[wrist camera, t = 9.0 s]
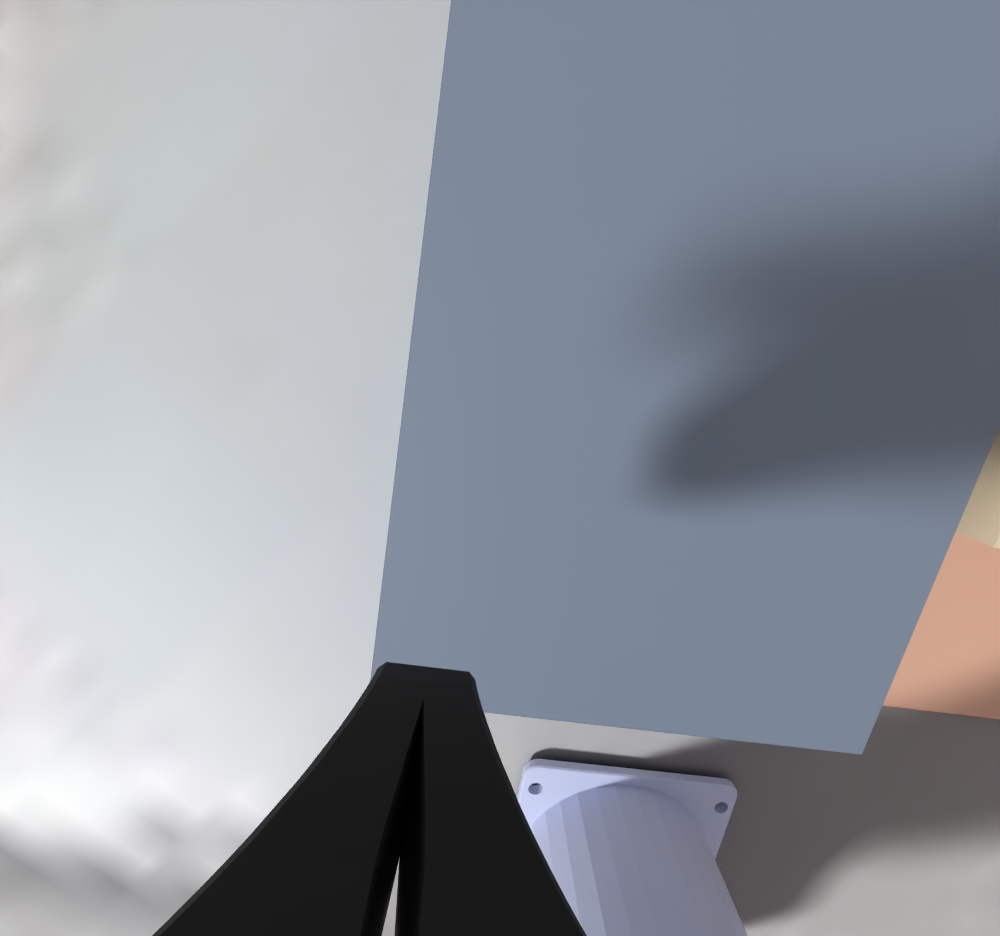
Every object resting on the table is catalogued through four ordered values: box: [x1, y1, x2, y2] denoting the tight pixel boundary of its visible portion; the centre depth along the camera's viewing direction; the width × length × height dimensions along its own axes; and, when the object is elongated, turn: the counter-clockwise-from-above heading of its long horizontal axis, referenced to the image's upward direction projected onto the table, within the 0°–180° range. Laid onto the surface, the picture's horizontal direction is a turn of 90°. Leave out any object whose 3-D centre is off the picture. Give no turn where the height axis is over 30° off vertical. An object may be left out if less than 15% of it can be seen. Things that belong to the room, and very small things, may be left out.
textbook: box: [370, 0, 1000, 755], centre depth 15 cm, size 20×15×3 cm
